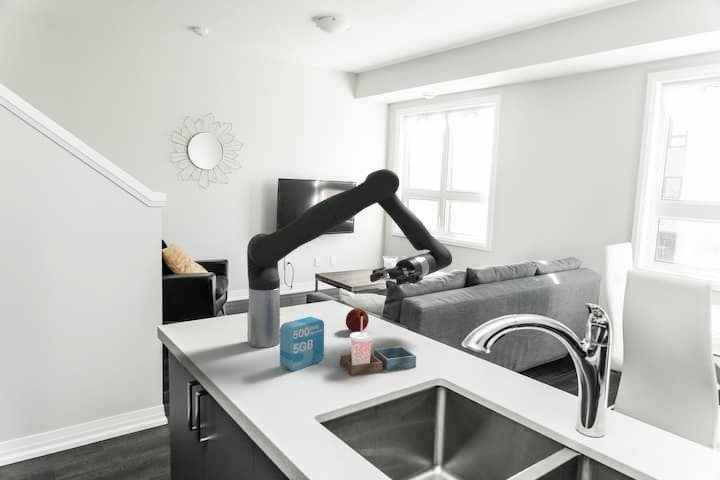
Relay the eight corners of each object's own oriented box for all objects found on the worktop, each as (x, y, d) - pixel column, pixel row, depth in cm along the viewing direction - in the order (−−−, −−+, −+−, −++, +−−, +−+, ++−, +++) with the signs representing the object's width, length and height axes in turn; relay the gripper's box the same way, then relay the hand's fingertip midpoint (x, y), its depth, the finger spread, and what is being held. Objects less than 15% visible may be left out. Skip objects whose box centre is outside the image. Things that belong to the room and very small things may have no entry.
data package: (290, 372, 126) (290, 327, 125) (279, 368, 129) (279, 323, 128) (324, 361, 135) (324, 318, 134) (313, 357, 138) (313, 315, 137)
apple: (352, 336, 157) (352, 312, 157) (341, 329, 164) (341, 306, 163) (371, 333, 161) (372, 309, 160) (360, 327, 168) (360, 304, 167)
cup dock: (351, 375, 125) (351, 364, 125) (340, 364, 133) (340, 353, 132) (415, 366, 132) (416, 356, 132) (401, 356, 140) (401, 346, 139)
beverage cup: (345, 365, 132) (346, 314, 130) (366, 362, 134) (367, 312, 133) (354, 373, 126) (355, 320, 125) (376, 370, 129) (377, 318, 127)
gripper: (391, 255, 153) (362, 264, 140) (433, 259, 145) (406, 269, 132) (392, 278, 154) (363, 290, 141) (433, 283, 146) (406, 296, 133)
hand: (384, 280), depth 136 cm, fingers open, 8 cm apart
